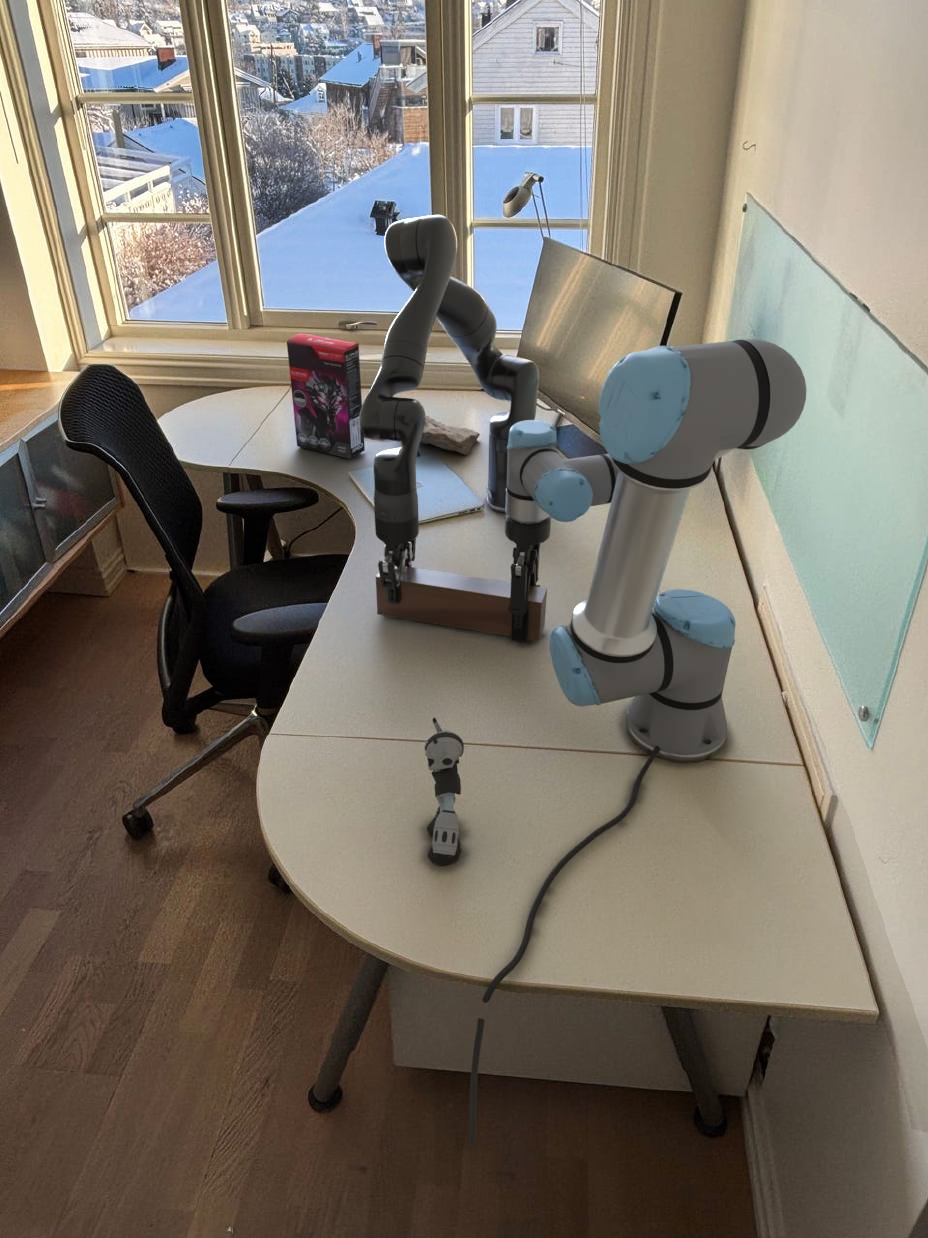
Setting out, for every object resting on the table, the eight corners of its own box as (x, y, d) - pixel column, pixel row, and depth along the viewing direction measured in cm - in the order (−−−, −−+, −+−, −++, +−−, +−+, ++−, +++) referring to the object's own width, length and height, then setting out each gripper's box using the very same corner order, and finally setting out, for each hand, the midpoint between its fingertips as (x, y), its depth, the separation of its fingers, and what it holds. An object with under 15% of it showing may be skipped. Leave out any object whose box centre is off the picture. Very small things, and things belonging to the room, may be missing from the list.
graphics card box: (294, 447, 232) (283, 339, 217) (310, 437, 237) (301, 331, 222) (351, 461, 225) (344, 350, 210) (367, 450, 230) (361, 342, 215)
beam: (538, 641, 161) (541, 602, 157) (377, 614, 168) (375, 576, 163) (544, 625, 165) (547, 587, 161) (386, 599, 172) (384, 562, 167)
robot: (466, 900, 116) (468, 784, 104) (427, 902, 115) (425, 785, 104) (459, 789, 132) (460, 678, 121) (425, 790, 132) (423, 679, 120)
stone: (382, 437, 229) (387, 414, 227) (402, 429, 243) (406, 406, 240) (461, 462, 226) (467, 438, 223) (477, 452, 239) (482, 429, 237)
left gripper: (403, 532, 151) (406, 618, 161) (429, 495, 163) (431, 577, 172) (360, 526, 153) (366, 612, 162) (389, 490, 164) (393, 572, 174)
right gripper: (540, 543, 143) (532, 663, 156) (560, 493, 158) (552, 607, 171) (493, 536, 145) (489, 656, 158) (517, 488, 159) (513, 601, 172)
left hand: (399, 594), depth 167 cm, fingers closed on beam, 5 cm apart
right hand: (522, 630), depth 164 cm, fingers closed on beam, 5 cm apart
